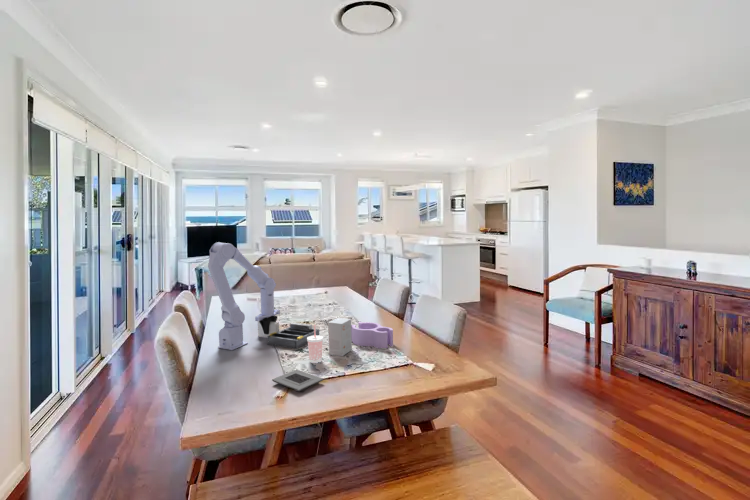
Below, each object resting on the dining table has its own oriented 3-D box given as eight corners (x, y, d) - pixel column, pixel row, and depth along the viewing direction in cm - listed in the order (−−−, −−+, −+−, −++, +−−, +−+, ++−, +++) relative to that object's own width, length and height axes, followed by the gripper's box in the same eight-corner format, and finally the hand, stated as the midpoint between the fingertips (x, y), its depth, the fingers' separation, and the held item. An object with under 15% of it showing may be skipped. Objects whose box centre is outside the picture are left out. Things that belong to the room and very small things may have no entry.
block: (275, 339, 182) (275, 323, 181) (258, 336, 186) (257, 321, 185) (279, 337, 184) (278, 322, 183) (261, 335, 188) (261, 320, 187)
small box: (338, 348, 169) (337, 317, 168) (352, 350, 166) (351, 318, 165) (328, 354, 161) (327, 322, 160) (342, 356, 159) (341, 323, 158)
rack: (296, 348, 168) (296, 334, 168) (267, 344, 174) (267, 330, 174) (319, 337, 184) (319, 324, 183) (291, 333, 190) (291, 320, 189)
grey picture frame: (272, 385, 134) (271, 378, 134) (296, 375, 142) (296, 368, 142) (299, 396, 126) (298, 388, 126) (323, 384, 134) (323, 377, 134)
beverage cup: (312, 357, 159) (311, 321, 157) (326, 359, 156) (325, 323, 155) (304, 362, 153) (303, 326, 152) (318, 364, 151) (317, 327, 149)
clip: (398, 343, 174) (398, 327, 174) (380, 351, 165) (380, 334, 164) (363, 335, 187) (363, 320, 186) (344, 342, 177) (344, 326, 176)
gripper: (263, 307, 175) (265, 338, 177) (284, 300, 188) (285, 329, 190) (250, 306, 178) (252, 336, 179) (272, 299, 191) (273, 328, 193)
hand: (268, 333), depth 185 cm, fingers closed on block, 2 cm apart
